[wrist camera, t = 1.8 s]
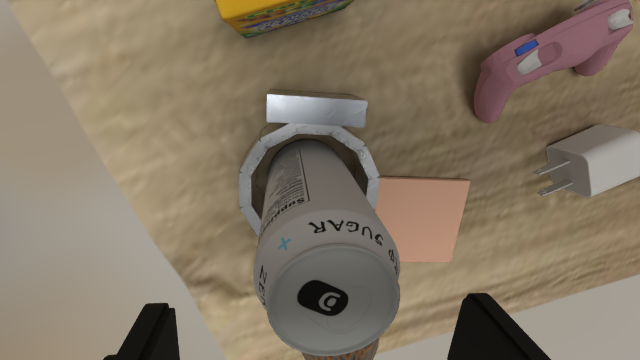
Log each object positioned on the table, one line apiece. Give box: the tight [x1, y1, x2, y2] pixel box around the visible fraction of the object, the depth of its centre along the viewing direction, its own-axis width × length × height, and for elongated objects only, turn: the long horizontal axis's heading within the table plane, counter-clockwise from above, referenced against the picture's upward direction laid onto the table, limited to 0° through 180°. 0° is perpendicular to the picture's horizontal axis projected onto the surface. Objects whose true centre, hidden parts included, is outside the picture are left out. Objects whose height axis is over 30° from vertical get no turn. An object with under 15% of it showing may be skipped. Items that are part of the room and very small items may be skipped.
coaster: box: [374, 176, 471, 262], centre depth 27 cm, size 8×8×1 cm
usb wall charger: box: [533, 124, 640, 198], centre depth 25 cm, size 4×7×4 cm, turn 113°
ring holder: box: [239, 89, 380, 236], centre depth 23 cm, size 13×10×5 cm
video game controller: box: [474, 0, 634, 123], centre depth 22 cm, size 10×5×7 cm, turn 115°
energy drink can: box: [254, 140, 400, 356], centre depth 18 cm, size 6×6×15 cm
